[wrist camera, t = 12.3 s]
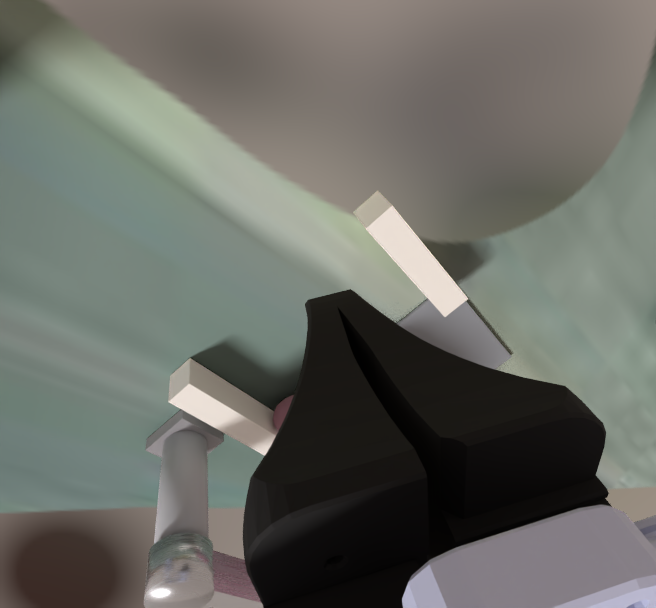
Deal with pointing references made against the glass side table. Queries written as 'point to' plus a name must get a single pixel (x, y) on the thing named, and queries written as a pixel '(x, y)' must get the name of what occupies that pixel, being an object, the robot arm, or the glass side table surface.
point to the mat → (456, 333)
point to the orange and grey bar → (196, 576)
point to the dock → (244, 411)
